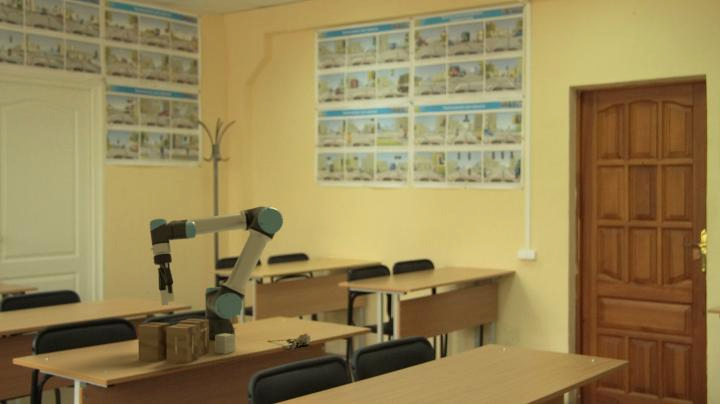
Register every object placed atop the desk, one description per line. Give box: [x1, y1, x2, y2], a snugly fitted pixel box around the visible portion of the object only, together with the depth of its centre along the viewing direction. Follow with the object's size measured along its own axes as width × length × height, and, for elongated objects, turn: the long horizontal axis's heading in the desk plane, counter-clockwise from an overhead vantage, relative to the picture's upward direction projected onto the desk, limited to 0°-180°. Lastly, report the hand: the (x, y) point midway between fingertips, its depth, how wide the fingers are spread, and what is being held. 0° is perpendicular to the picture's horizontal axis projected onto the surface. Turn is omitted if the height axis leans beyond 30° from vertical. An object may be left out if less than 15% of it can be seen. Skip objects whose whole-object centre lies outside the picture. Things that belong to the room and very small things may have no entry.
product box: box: [214, 333, 236, 355], centre depth 383 cm, size 6×6×7 cm
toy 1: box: [231, 315, 239, 325], centre depth 448 cm, size 7×5×15 cm
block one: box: [166, 323, 199, 365], centre depth 364 cm, size 9×9×14 cm
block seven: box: [178, 318, 210, 358], centre depth 378 cm, size 9×9×14 cm
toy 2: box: [267, 332, 311, 350], centre depth 398 cm, size 29×5×15 cm
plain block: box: [137, 321, 171, 363], centre depth 369 cm, size 9×9×14 cm
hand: (168, 303), depth 391 cm, fingers open, 13 cm apart
